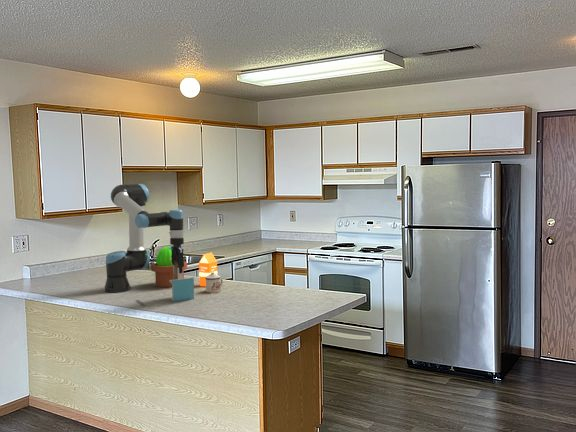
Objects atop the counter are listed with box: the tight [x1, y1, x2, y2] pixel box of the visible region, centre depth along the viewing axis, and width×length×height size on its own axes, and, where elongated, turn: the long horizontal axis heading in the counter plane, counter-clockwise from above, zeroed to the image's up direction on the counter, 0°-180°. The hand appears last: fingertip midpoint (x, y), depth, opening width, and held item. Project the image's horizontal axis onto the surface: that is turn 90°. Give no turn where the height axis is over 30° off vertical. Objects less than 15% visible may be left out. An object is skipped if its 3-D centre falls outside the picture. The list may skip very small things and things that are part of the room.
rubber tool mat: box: [134, 299, 147, 307], centre depth 302 cm, size 16×12×1 cm
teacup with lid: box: [205, 272, 224, 294], centre depth 326 cm, size 12×9×12 cm
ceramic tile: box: [171, 276, 195, 302], centre depth 304 cm, size 12×12×1 cm
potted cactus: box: [150, 246, 188, 288], centre depth 349 cm, size 22×22×25 cm
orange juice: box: [198, 252, 218, 287], centre depth 345 cm, size 8×9×20 cm
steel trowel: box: [169, 260, 178, 284], centre depth 307 cm, size 12×8×13 cm, turn 30°
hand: (178, 277), depth 310 cm, fingers open, 7 cm apart
